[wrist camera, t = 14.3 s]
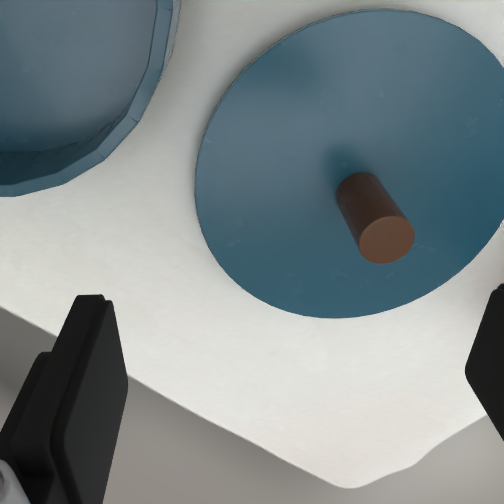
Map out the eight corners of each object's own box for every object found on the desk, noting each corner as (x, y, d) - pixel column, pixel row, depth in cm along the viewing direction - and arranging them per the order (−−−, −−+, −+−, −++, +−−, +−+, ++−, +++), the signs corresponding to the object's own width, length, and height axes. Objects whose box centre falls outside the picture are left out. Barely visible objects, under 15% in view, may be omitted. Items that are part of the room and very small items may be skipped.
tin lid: (142, 238, 27) (123, 303, 22) (317, -84, 19) (353, -100, 14) (374, 342, 33) (403, 413, 28) (583, 128, 25) (677, 172, 20)
